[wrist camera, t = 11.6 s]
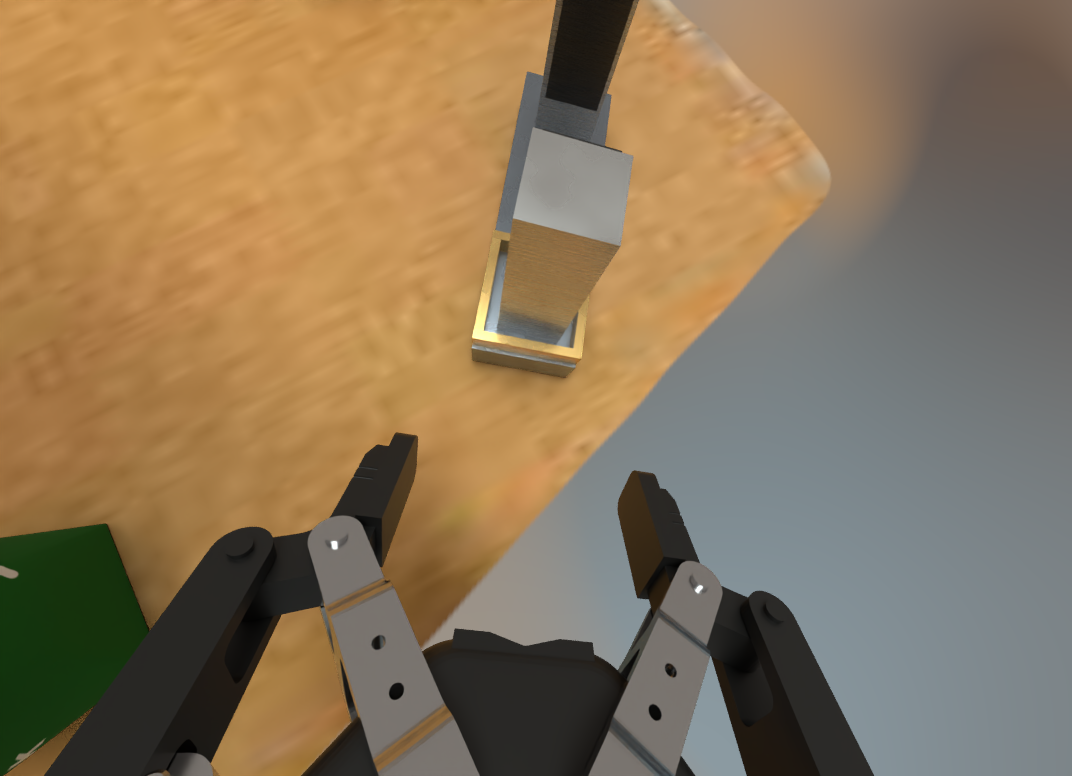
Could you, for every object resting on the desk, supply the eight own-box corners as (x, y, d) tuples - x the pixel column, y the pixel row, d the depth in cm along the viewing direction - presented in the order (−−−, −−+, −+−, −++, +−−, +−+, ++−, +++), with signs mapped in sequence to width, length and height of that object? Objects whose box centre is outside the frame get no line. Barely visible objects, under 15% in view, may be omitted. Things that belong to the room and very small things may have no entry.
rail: (565, 377, 24) (652, 289, 12) (472, 360, 24) (467, 248, 12) (600, 126, 29) (689, -120, 17) (522, 105, 28) (557, -167, 16)
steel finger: (557, 342, 22) (620, 246, 12) (496, 329, 22) (512, 218, 12) (568, 278, 23) (635, 142, 13) (510, 264, 23) (536, 113, 13)
